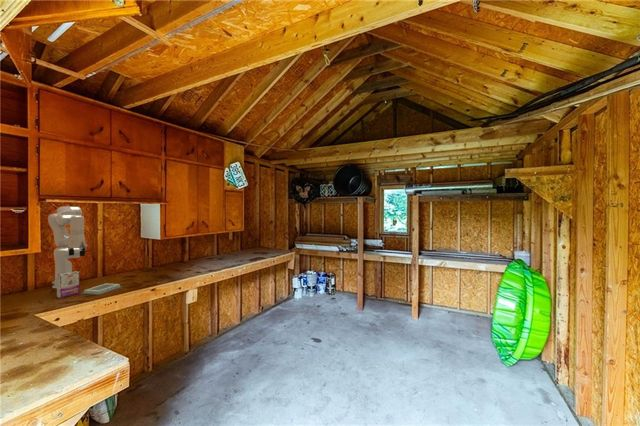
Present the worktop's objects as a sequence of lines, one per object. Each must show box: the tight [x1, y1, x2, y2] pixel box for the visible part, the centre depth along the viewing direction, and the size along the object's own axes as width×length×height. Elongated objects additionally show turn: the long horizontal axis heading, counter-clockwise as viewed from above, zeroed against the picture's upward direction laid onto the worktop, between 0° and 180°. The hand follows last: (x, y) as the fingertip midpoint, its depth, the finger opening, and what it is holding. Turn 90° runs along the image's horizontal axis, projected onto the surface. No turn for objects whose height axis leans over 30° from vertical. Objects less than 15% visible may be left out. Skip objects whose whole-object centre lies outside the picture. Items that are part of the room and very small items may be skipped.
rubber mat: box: [79, 285, 124, 296], centre depth 200 cm, size 16×20×1 cm
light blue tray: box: [83, 283, 121, 294], centre depth 200 cm, size 12×18×2 cm, turn 175°
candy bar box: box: [56, 271, 80, 299], centre depth 188 cm, size 11×5×16 cm, turn 161°
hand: (76, 255), depth 190 cm, fingers open, 9 cm apart
